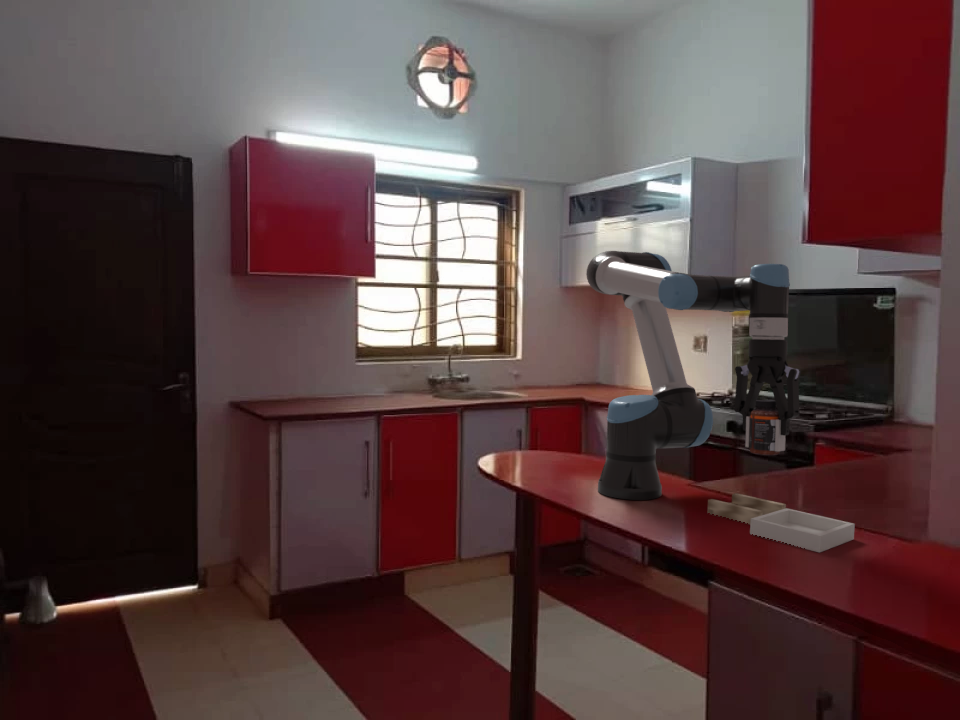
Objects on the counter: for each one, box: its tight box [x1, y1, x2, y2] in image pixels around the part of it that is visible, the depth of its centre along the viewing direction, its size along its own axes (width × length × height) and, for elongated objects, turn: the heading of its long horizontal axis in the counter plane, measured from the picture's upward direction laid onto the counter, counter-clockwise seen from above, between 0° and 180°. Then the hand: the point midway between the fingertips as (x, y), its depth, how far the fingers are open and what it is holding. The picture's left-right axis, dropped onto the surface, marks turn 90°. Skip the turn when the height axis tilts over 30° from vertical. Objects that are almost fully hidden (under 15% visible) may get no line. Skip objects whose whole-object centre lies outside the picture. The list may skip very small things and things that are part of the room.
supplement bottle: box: [749, 399, 781, 456], centre depth 156 cm, size 6×6×11 cm
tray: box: [749, 507, 855, 553], centre depth 146 cm, size 14×14×3 cm
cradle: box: [707, 492, 787, 525], centre depth 161 cm, size 12×11×3 cm
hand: (764, 448), depth 156 cm, fingers closed on supplement bottle, 6 cm apart
